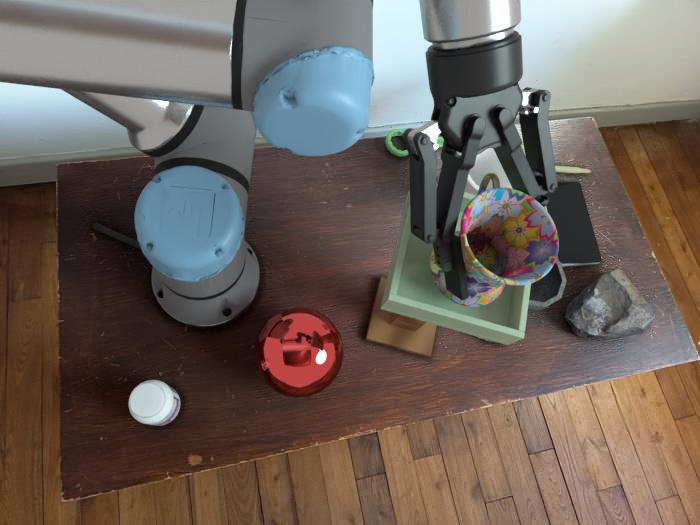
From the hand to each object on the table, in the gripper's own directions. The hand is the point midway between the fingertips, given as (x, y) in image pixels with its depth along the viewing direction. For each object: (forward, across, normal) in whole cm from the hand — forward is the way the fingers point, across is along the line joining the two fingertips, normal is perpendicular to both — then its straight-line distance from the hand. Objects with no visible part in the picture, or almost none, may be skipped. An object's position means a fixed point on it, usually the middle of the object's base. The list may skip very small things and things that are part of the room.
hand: (491, 277), depth 54 cm
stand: (+19, 0, -23) cm, 30 cm away
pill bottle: (+17, +37, -26) cm, 48 cm away
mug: (0, 0, -5) cm, 5 cm away
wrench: (-1, -24, -42) cm, 48 cm away
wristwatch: (+24, -12, -18) cm, 32 cm away
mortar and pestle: (+21, -20, -22) cm, 36 cm away
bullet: (+9, -37, -32) cm, 50 cm away
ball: (+18, +18, -24) cm, 35 cm away
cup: (+10, -19, -32) cm, 39 cm away
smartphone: (+17, -34, -25) cm, 46 cm away
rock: (+30, -30, -13) cm, 45 cm away
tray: (+2, 0, -6) cm, 7 cm away
